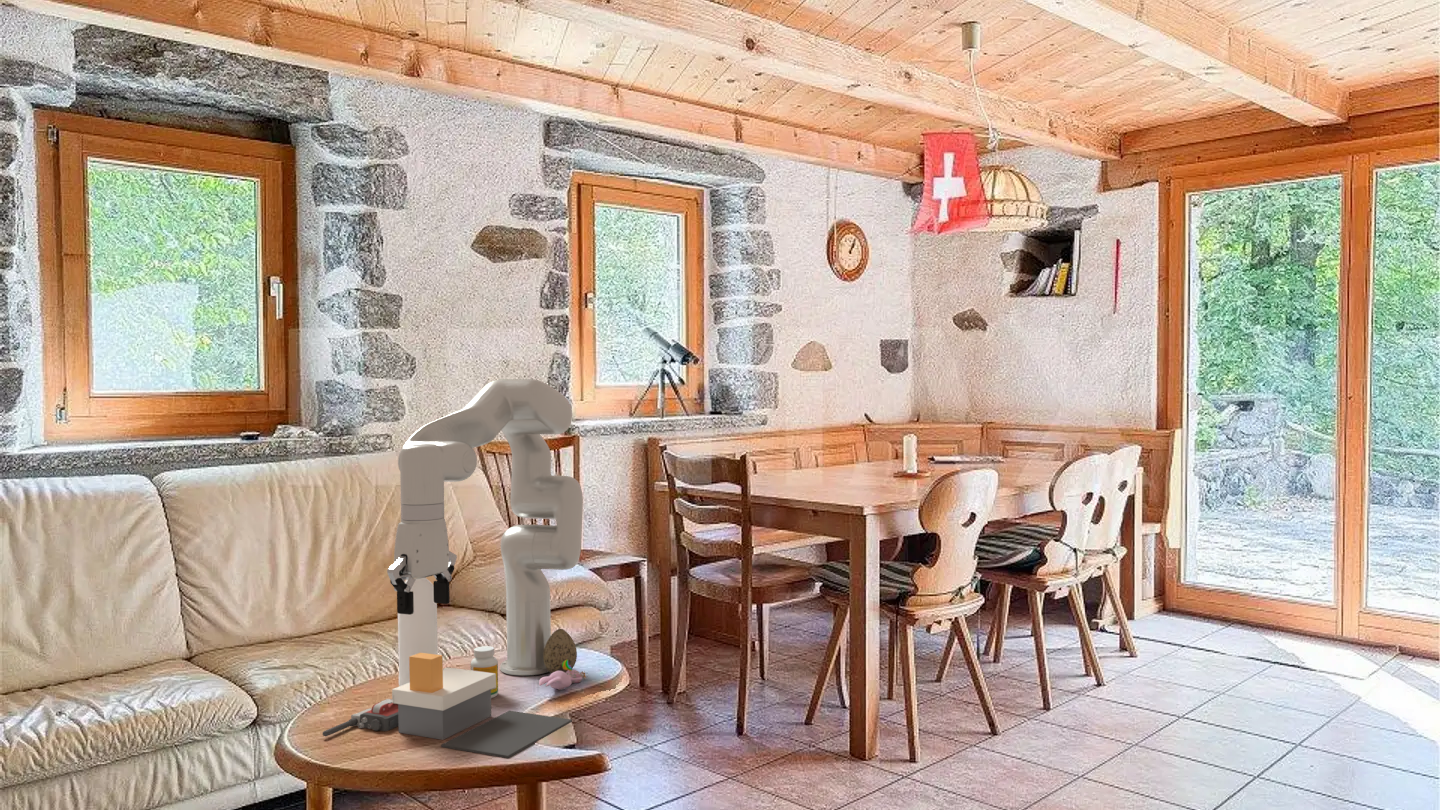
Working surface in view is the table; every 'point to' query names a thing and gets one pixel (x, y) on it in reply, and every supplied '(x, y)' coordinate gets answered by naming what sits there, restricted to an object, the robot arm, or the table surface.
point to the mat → (507, 734)
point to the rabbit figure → (563, 677)
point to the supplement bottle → (486, 664)
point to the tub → (444, 717)
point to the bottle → (417, 627)
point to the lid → (440, 684)
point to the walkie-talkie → (372, 718)
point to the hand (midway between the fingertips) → (423, 608)
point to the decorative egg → (559, 651)
